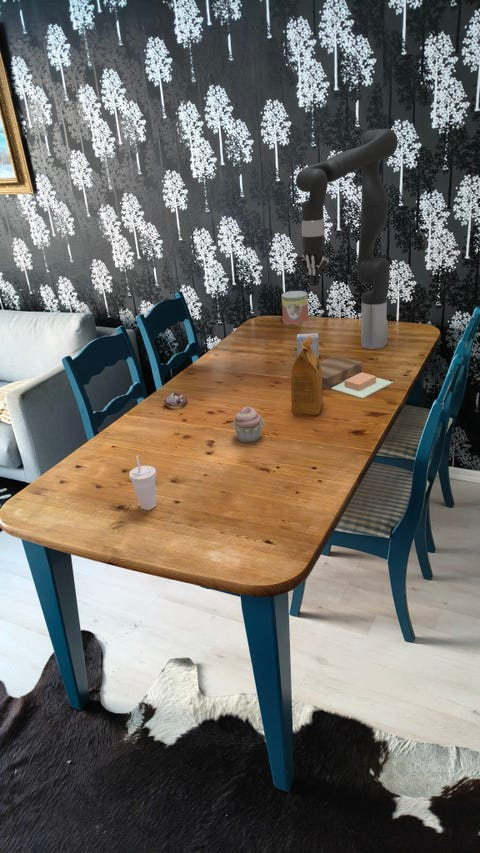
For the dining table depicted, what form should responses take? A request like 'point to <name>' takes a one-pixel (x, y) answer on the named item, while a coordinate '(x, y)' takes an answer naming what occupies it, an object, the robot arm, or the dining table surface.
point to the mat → (364, 392)
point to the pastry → (175, 401)
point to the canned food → (294, 307)
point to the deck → (338, 370)
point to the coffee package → (306, 382)
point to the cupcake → (248, 425)
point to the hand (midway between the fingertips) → (314, 285)
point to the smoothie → (144, 485)
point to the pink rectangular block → (360, 381)
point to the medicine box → (314, 345)
